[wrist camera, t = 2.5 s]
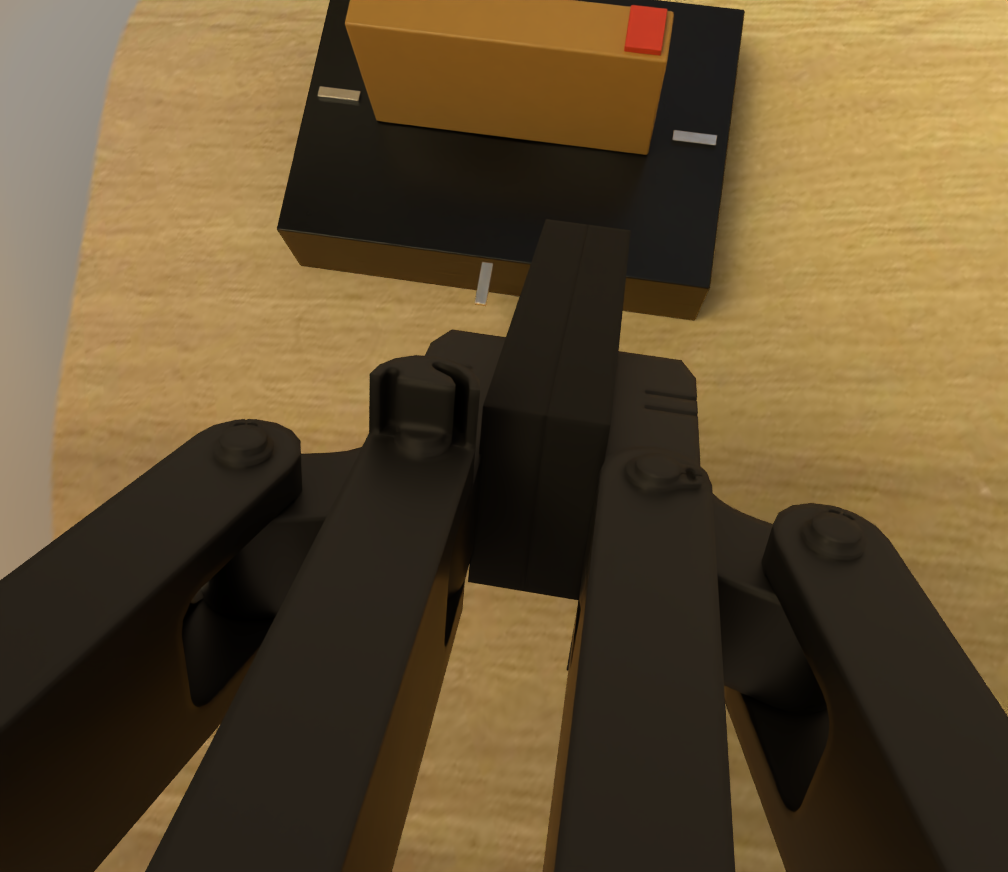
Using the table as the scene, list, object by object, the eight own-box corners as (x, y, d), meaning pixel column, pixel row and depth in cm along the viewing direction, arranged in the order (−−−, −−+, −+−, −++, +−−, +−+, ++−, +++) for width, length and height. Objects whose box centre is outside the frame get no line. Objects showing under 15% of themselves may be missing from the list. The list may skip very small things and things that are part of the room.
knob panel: (290, 308, 33) (264, 273, 30) (363, -17, 35) (345, -80, 32) (689, 365, 32) (704, 335, 29) (732, 25, 34) (751, -35, 31)
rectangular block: (375, 121, 31) (341, 18, 26) (385, 79, 31) (353, -32, 26) (647, 156, 30) (668, 56, 25) (654, 111, 30) (676, 4, 25)
